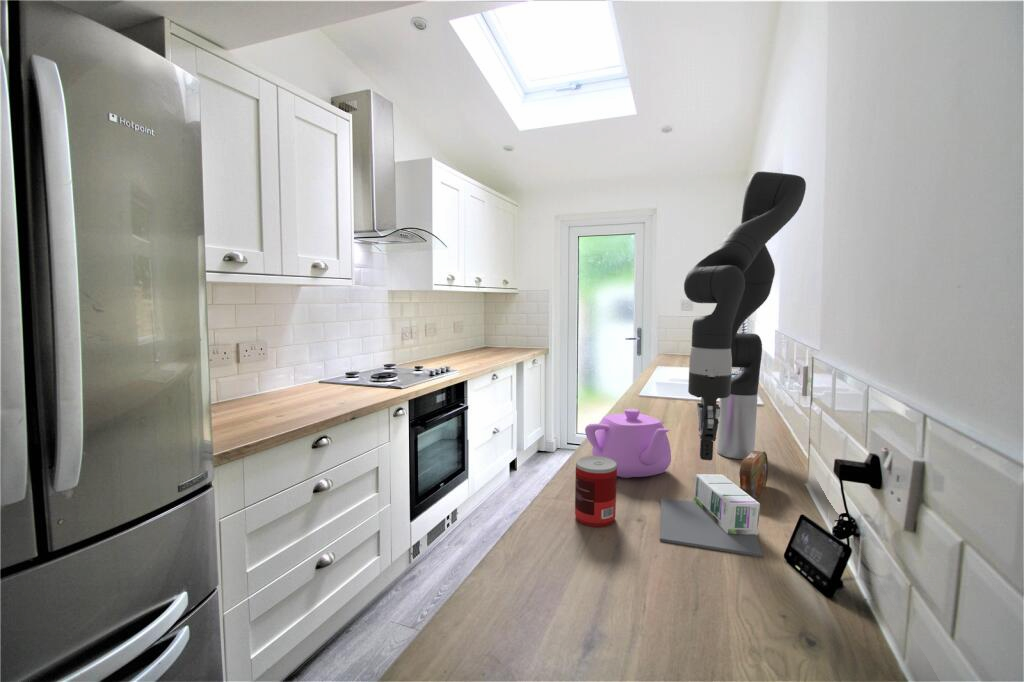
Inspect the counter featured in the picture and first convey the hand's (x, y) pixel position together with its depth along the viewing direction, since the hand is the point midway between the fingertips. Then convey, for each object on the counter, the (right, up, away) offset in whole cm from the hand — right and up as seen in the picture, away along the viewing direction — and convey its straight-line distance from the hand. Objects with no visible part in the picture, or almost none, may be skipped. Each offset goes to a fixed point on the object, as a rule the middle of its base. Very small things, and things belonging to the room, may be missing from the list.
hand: (705, 458), depth 92 cm
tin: (+15, -11, +12) cm, 22 cm away
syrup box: (+3, -7, +6) cm, 10 cm away
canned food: (-22, -11, -1) cm, 25 cm away
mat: (-2, -11, -4) cm, 12 cm away
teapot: (-8, -9, +25) cm, 27 cm away
